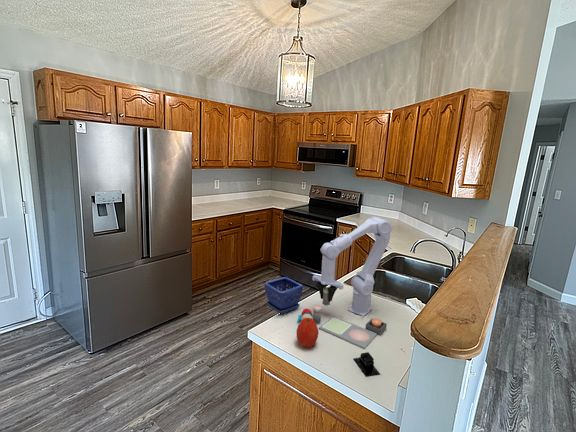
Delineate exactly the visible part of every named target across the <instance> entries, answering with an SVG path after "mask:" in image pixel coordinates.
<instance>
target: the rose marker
mask: <svg viewBox="0 0 576 432" xmlns="http://www.w3.org/2000/svg"><path fill="white" fill-rule="evenodd" d="M312 307H313V308H312V310H313V312H312V315H313V320H314V322H315V323H316V325H319V324H321V318H322V309H323V307H322V306H321V305H320V304H314V305H313V306H312Z"/></svg>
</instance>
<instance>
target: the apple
mask: <svg viewBox="0 0 576 432" xmlns="http://www.w3.org/2000/svg"><path fill="white" fill-rule="evenodd" d="M318 337H319V327H318V324H316V323H315V322H314V320H313V319H311V318H304V319H303V320H302V321H301V322H300V323H299V324H298V325H297V328H296V340H297V342H298V343H299V344H300V345H301V347H303V348H311V347H313V346H314V345H315V344H316V343H317V341H318Z"/></svg>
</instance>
